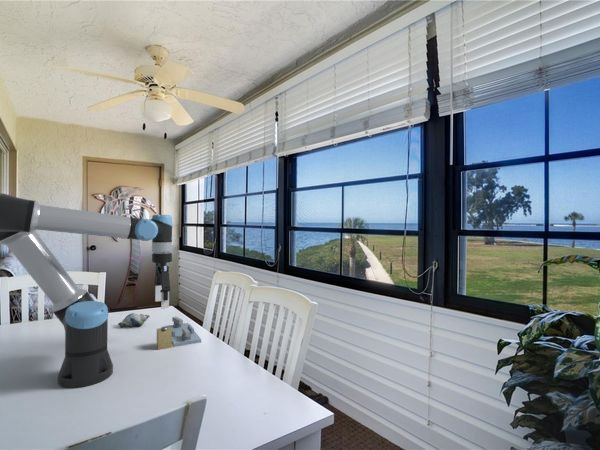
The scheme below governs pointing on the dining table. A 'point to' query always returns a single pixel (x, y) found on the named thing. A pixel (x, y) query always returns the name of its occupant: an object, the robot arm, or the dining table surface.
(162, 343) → the block
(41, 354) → the dining table surface
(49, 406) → the dining table surface
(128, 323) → the seashell
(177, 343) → the shaft bench
